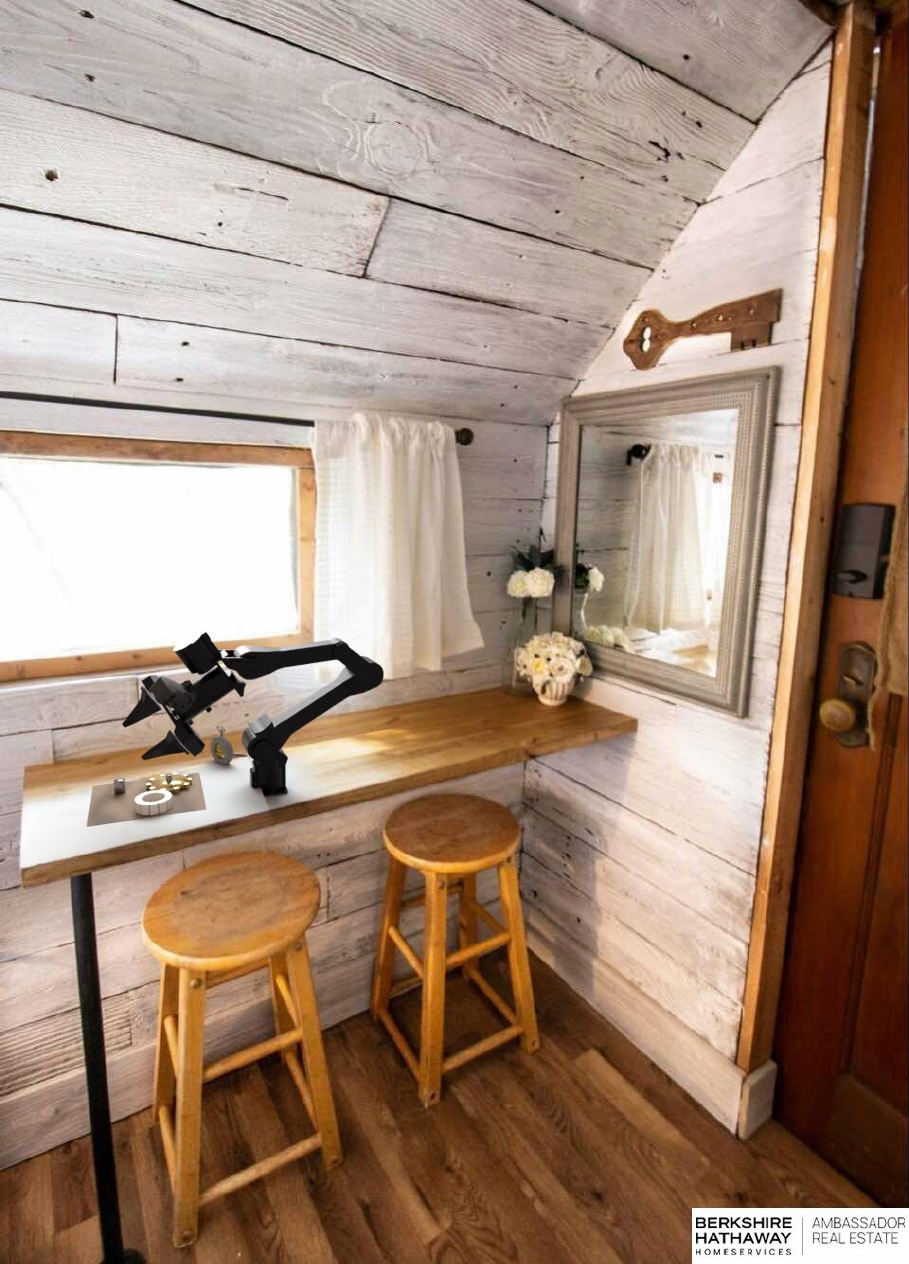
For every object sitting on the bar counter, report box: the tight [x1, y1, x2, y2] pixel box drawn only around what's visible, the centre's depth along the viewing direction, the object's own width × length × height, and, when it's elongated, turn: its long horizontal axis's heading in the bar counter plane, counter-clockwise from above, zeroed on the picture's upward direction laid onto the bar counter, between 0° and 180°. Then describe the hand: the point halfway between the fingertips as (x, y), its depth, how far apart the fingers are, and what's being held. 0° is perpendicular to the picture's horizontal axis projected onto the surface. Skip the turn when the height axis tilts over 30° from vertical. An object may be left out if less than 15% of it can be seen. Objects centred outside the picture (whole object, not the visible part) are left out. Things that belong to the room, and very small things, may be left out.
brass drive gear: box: [146, 772, 192, 794], centre depth 138 cm, size 8×8×2 cm
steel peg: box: [113, 777, 126, 795], centre depth 134 cm, size 2×2×3 cm
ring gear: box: [135, 790, 172, 815], centre depth 129 cm, size 6×6×2 cm
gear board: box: [86, 772, 207, 827], centre depth 133 cm, size 20×18×2 cm
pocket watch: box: [209, 725, 251, 765], centre depth 152 cm, size 8×8×10 cm
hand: (132, 742), depth 127 cm, fingers open, 9 cm apart
